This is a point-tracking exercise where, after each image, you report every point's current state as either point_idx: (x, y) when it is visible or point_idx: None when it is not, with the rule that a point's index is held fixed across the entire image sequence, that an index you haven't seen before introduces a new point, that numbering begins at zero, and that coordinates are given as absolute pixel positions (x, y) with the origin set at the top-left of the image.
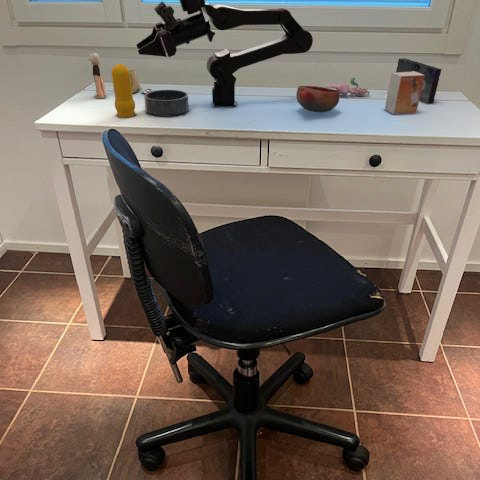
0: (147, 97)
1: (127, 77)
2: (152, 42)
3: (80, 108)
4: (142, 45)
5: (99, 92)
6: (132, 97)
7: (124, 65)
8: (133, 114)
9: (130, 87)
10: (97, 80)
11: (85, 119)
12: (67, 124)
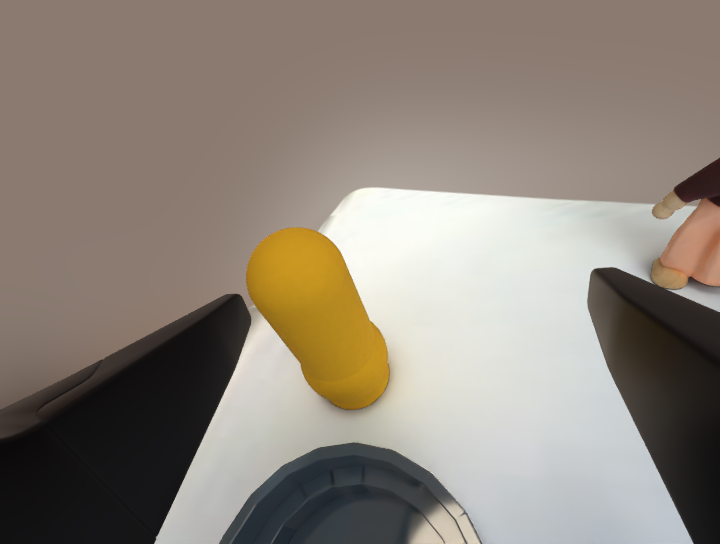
0: (320, 458)
1: (260, 312)
2: (18, 405)
3: (483, 234)
4: (616, 342)
5: (666, 257)
6: (316, 375)
7: (270, 267)
8: (330, 400)
9: (289, 348)
10: (659, 215)
11: (351, 261)
12: (323, 232)
